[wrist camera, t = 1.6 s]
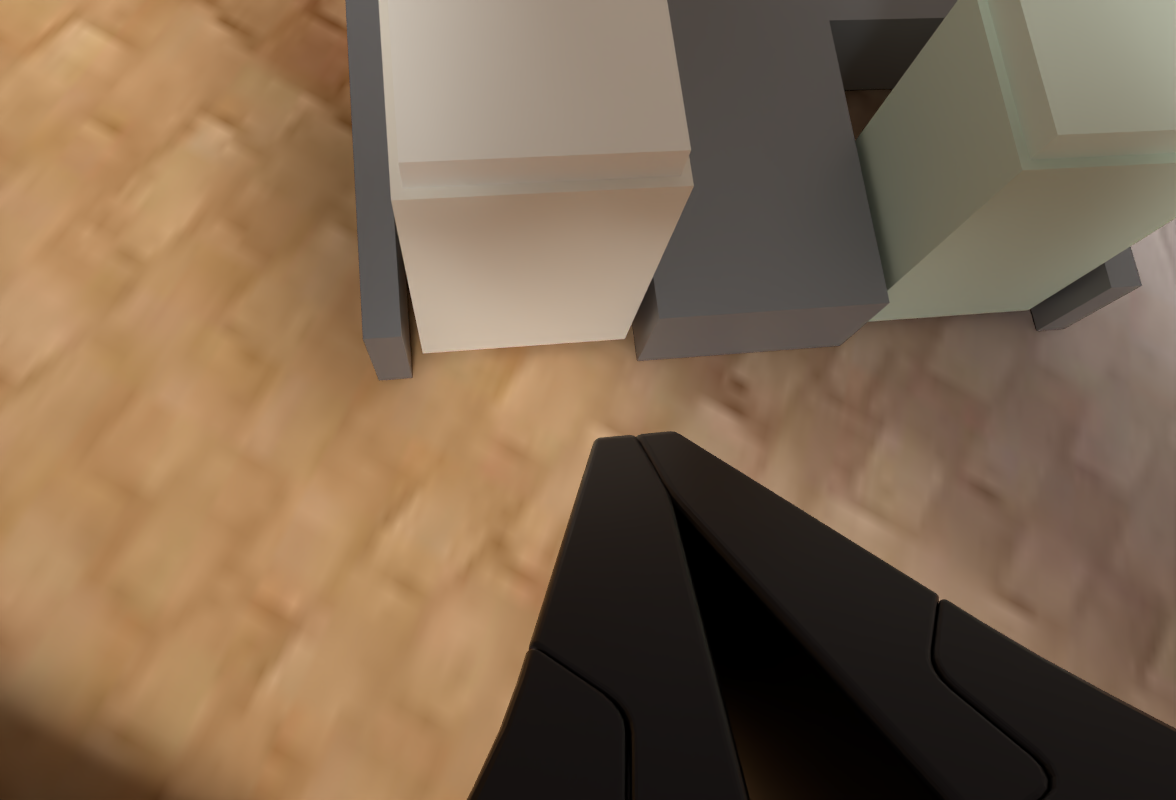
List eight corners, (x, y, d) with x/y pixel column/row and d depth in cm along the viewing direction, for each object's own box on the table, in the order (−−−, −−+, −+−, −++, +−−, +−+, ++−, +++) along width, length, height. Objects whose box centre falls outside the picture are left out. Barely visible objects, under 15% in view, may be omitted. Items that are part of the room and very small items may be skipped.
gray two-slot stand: (1063, 328, 24) (1142, 285, 21) (378, 380, 22) (363, 339, 19) (991, 55, 26) (1053, -18, 24) (361, 73, 24) (345, -5, 21)
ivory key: (625, 338, 22) (705, 160, 14) (422, 353, 22) (385, 175, 14) (605, 195, 23) (671, -48, 15) (412, 204, 23) (372, -45, 15)
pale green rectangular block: (1028, 310, 24) (1309, 133, 16) (851, 322, 23) (1049, 145, 15) (993, 176, 25) (1241, -54, 17) (823, 184, 24) (995, -52, 16)
